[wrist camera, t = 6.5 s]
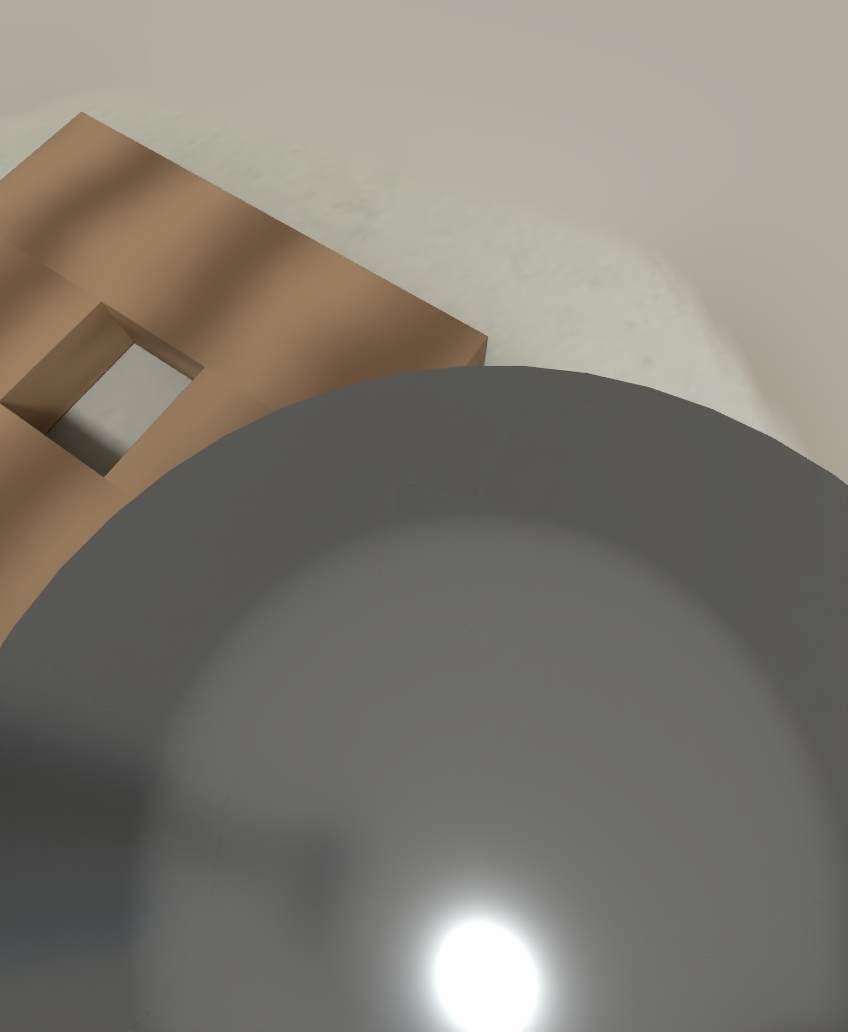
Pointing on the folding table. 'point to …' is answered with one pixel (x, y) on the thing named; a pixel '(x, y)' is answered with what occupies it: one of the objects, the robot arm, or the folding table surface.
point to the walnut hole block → (165, 329)
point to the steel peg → (440, 727)
